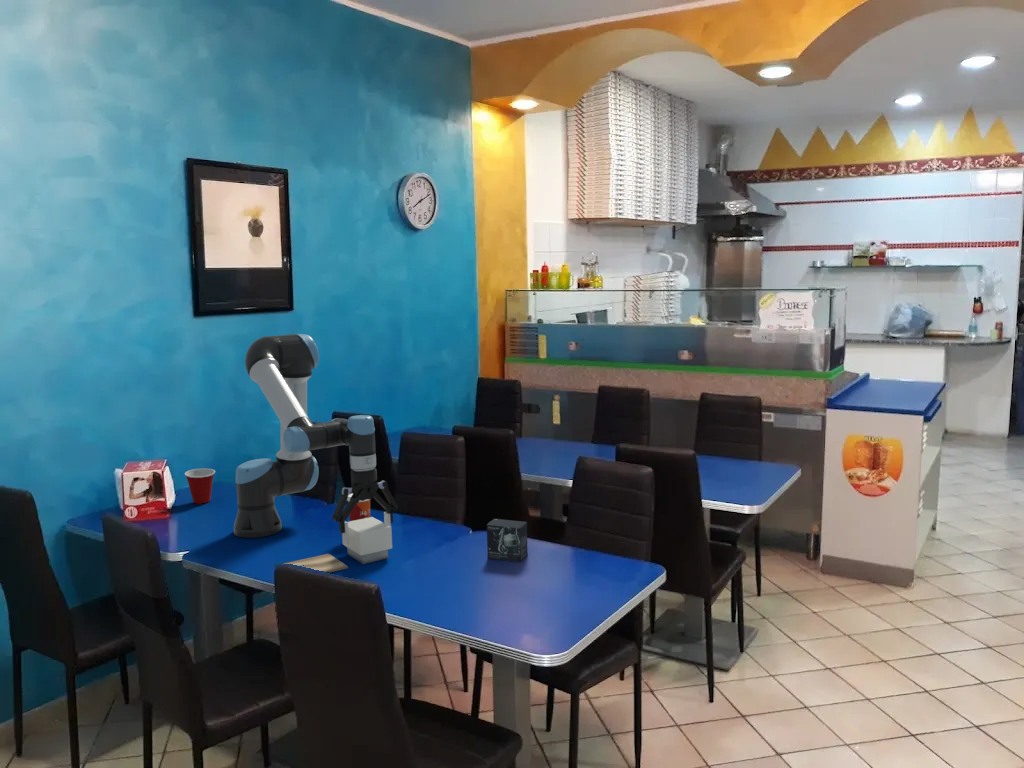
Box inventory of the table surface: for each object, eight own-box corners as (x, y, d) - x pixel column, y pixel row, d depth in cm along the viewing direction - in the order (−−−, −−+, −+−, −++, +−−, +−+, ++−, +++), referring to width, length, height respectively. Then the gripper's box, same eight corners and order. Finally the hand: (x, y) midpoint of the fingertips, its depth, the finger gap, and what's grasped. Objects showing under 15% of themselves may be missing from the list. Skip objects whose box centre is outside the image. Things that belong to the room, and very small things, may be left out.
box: (486, 559, 242) (485, 524, 240) (495, 552, 248) (494, 518, 246) (520, 562, 238) (519, 527, 237) (528, 555, 244) (527, 521, 243)
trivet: (283, 565, 240) (282, 563, 240) (328, 555, 248) (328, 553, 248) (300, 579, 229) (300, 577, 229) (347, 568, 237) (347, 566, 237)
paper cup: (367, 541, 260) (365, 498, 259) (344, 540, 262) (342, 497, 260) (376, 534, 268) (374, 491, 266) (354, 533, 269) (352, 491, 268)
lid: (342, 544, 249) (341, 523, 248) (373, 537, 255) (372, 516, 254) (360, 555, 238) (359, 533, 238) (392, 548, 244) (391, 526, 243)
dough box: (347, 554, 249) (346, 525, 248) (372, 548, 254) (370, 520, 252) (363, 563, 240) (361, 533, 239) (388, 558, 245) (386, 528, 243)
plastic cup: (195, 508, 305) (193, 476, 303) (181, 503, 312) (179, 472, 310) (223, 501, 313) (220, 470, 311) (208, 497, 320) (206, 466, 318)
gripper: (328, 477, 233) (332, 550, 236) (407, 464, 247) (410, 533, 250) (318, 472, 239) (322, 544, 242) (395, 460, 254) (399, 527, 256)
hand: (367, 538), depth 246 cm, fingers open, 13 cm apart
